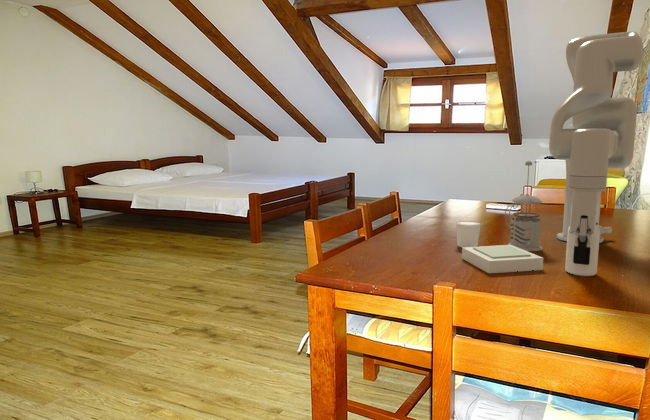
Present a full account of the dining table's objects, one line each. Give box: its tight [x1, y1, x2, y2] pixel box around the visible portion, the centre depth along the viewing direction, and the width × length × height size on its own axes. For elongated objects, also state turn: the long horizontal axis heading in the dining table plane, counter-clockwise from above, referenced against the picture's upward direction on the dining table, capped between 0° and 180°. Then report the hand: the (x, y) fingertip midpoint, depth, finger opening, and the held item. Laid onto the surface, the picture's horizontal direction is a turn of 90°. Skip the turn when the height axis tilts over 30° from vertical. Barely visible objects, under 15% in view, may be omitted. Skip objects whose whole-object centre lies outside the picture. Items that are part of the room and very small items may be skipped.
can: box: [564, 221, 600, 277], centre depth 106 cm, size 6×6×12 cm
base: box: [461, 244, 544, 274], centre depth 115 cm, size 14×14×3 cm
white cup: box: [455, 220, 481, 248], centre depth 134 cm, size 7×7×7 cm
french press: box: [504, 160, 543, 252], centre depth 131 cm, size 10×12×25 cm
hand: (581, 259), depth 106 cm, fingers closed on can, 6 cm apart
